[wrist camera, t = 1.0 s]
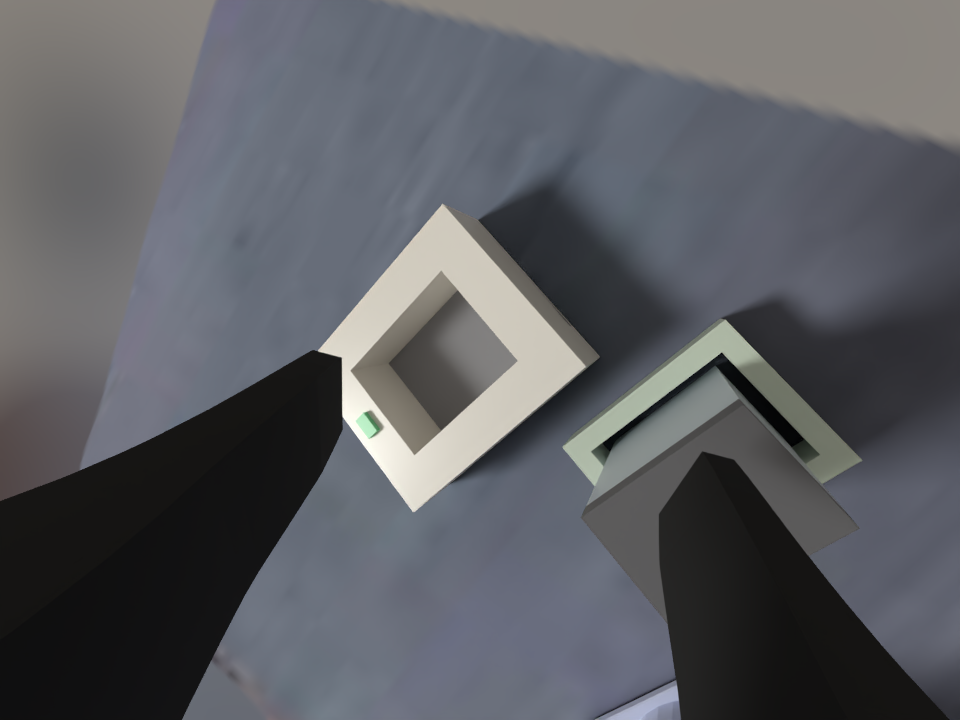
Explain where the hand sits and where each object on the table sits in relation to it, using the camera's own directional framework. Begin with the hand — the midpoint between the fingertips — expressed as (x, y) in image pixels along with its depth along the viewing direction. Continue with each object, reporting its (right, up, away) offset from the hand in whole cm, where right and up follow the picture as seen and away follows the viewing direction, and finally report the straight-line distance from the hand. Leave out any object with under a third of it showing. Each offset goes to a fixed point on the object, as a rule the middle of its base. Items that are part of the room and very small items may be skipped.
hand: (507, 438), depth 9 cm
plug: (+8, -2, +9) cm, 12 cm away
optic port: (-1, +2, +13) cm, 13 cm away
